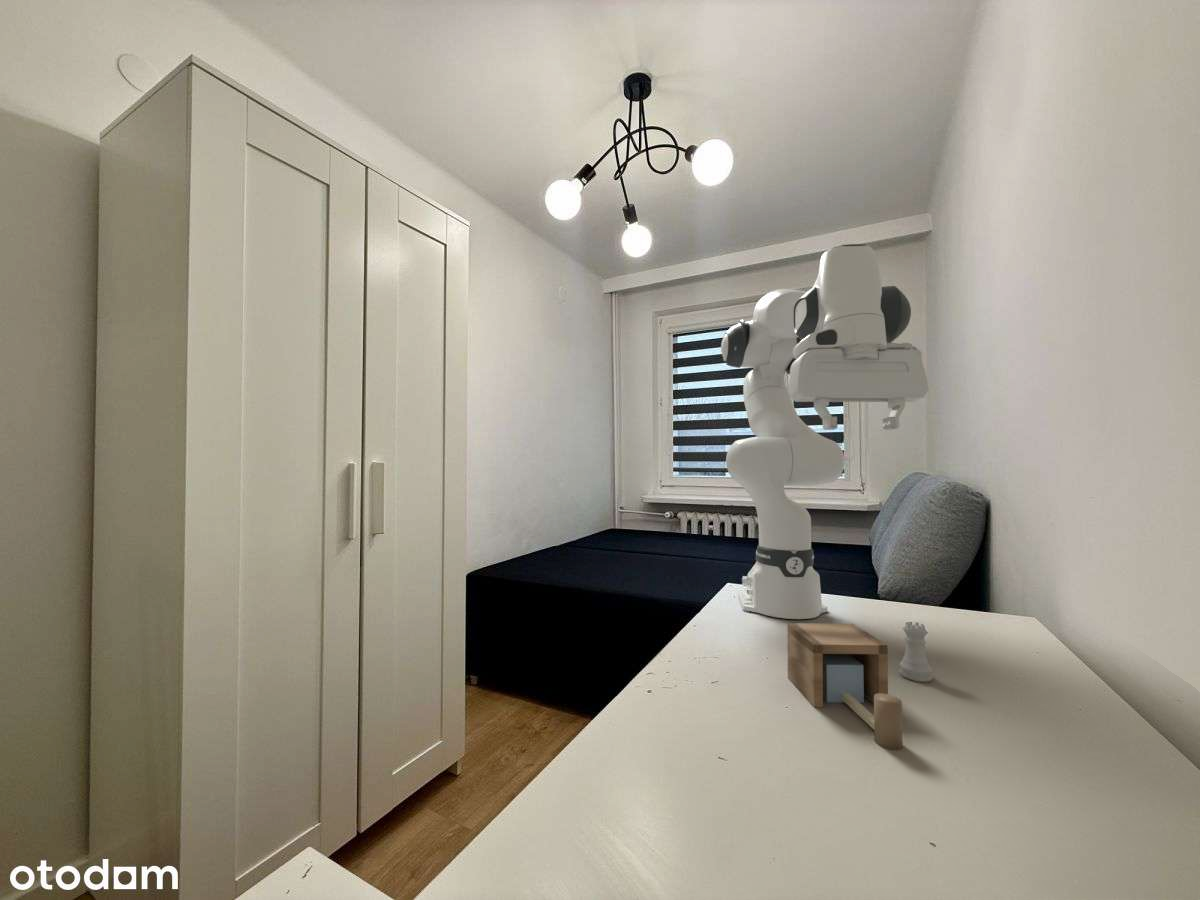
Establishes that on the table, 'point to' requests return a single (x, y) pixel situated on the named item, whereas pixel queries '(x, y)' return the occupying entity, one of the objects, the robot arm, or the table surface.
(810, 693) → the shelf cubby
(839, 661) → the block with stick handle
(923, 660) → the rook chess piece
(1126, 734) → the table surface
